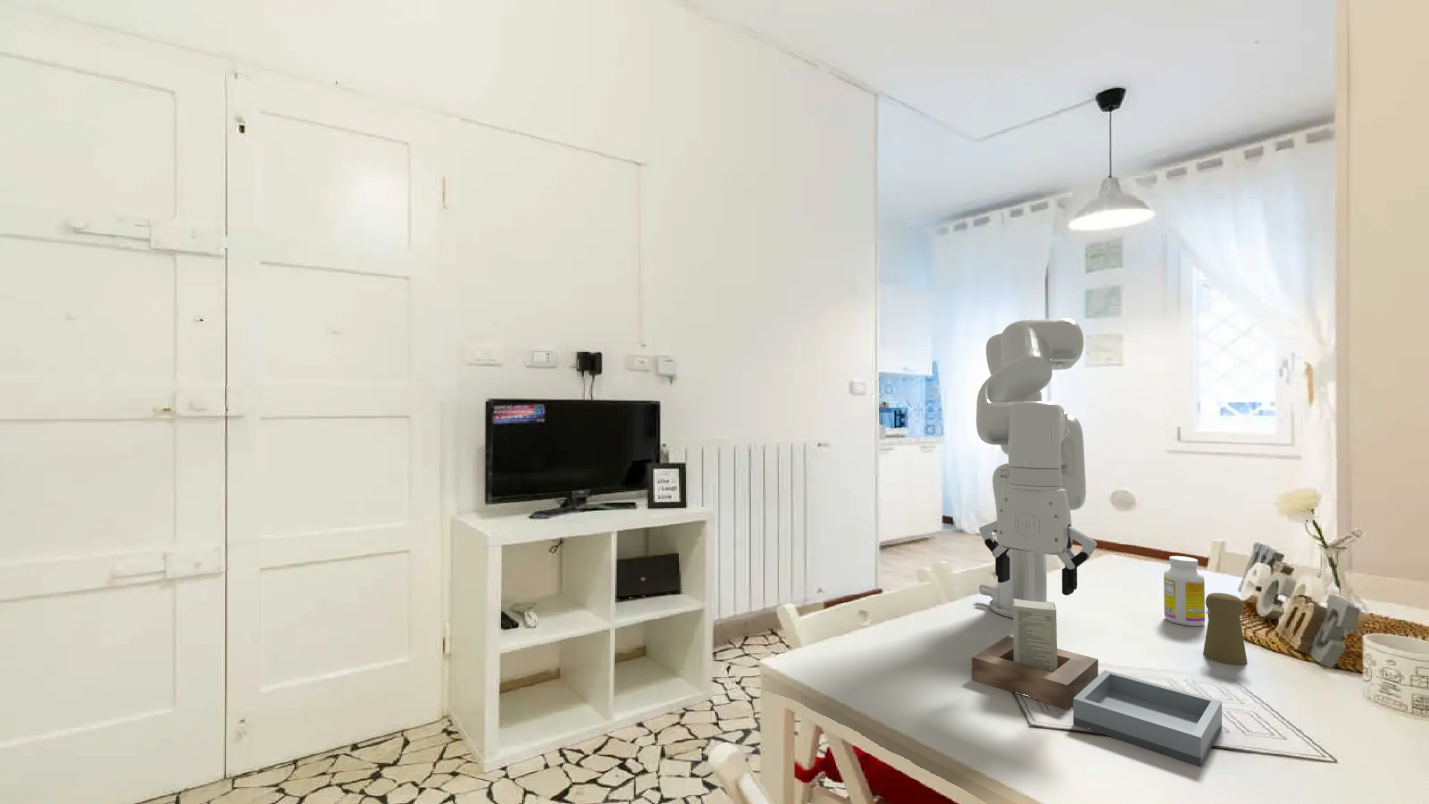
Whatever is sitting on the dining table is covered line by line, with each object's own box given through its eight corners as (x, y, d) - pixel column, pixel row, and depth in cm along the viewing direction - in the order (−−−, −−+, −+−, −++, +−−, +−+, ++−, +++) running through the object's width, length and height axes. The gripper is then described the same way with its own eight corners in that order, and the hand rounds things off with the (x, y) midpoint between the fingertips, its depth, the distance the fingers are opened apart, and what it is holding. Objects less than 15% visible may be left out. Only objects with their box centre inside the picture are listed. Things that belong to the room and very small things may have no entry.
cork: (1255, 666, 106) (1255, 600, 106) (1215, 663, 107) (1214, 598, 108) (1234, 652, 112) (1233, 590, 112) (1195, 650, 113) (1195, 588, 114)
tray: (1073, 724, 86) (1073, 698, 86) (1104, 693, 96) (1104, 670, 96) (1201, 766, 76) (1200, 737, 76) (1221, 727, 86) (1221, 701, 86)
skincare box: (1056, 678, 101) (1056, 602, 101) (1058, 689, 97) (1058, 610, 97) (1012, 671, 104) (1012, 597, 104) (1012, 682, 100) (1012, 604, 100)
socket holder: (971, 679, 101) (971, 657, 101) (1007, 655, 110) (1007, 635, 110) (1067, 709, 91) (1067, 685, 91) (1098, 681, 100) (1098, 659, 100)
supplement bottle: (1209, 622, 128) (1208, 559, 128) (1199, 629, 124) (1199, 564, 124) (1170, 614, 133) (1169, 553, 134) (1159, 620, 129) (1159, 557, 129)
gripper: (970, 476, 104) (970, 580, 104) (1087, 484, 92) (1088, 603, 91) (990, 474, 110) (990, 573, 109) (1103, 481, 97) (1104, 594, 96)
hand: (1034, 587), depth 100 cm, fingers open, 9 cm apart
